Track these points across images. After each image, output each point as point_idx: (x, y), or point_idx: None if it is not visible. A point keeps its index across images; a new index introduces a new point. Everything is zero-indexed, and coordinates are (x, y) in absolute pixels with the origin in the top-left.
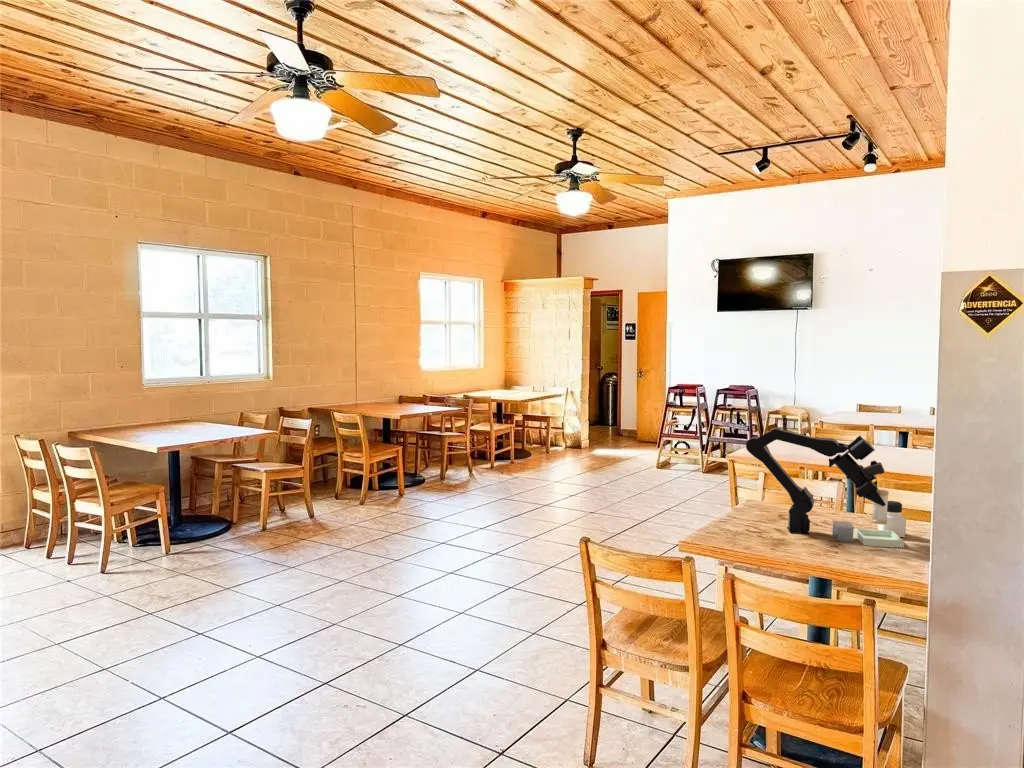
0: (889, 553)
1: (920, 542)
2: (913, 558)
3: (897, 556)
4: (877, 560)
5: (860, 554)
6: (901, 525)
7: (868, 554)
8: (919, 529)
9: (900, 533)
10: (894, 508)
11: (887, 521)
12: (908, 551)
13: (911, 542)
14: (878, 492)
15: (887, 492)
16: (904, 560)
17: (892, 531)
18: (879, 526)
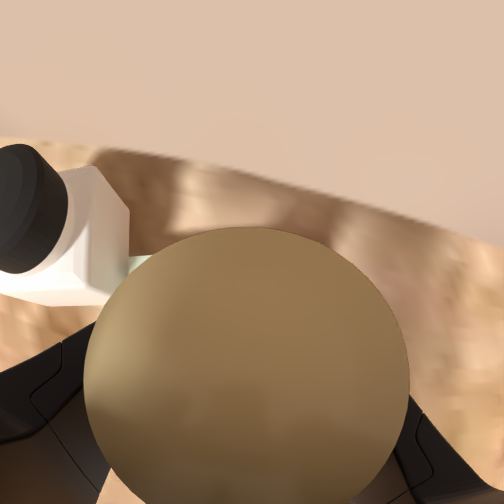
0: (416, 329)
1: (187, 163)
2: (442, 249)
3: (441, 304)
4: (497, 376)
5: (454, 432)
6: (109, 203)
7: (449, 407)
8: (17, 143)
9: (124, 221)
10: (53, 202)
11: (99, 271)
12: (358, 245)
13: (197, 197)
14: (379, 455)
15: (354, 269)
16: (473, 287)
17: (141, 260)
18: (57, 302)
